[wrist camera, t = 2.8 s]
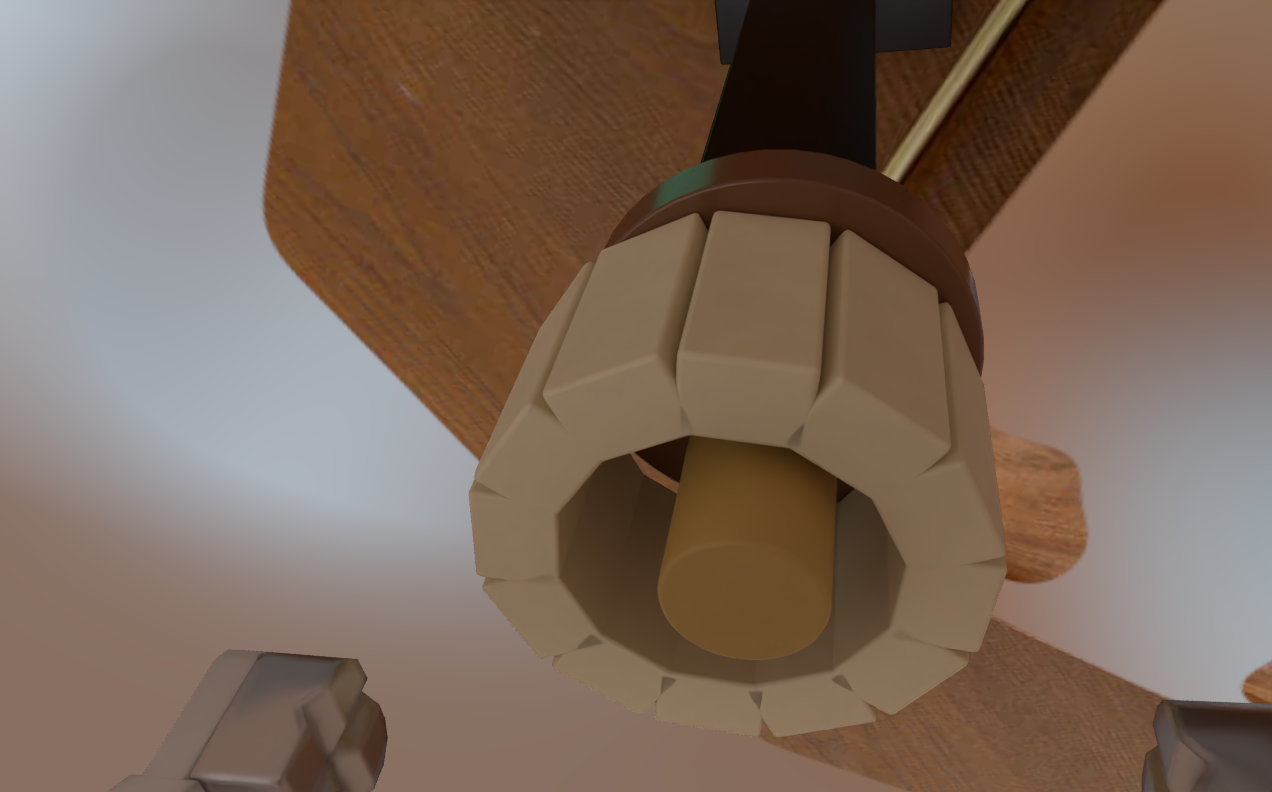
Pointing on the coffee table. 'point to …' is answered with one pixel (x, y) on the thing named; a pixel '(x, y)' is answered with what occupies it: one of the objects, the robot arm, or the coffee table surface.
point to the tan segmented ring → (752, 413)
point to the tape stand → (847, 200)
